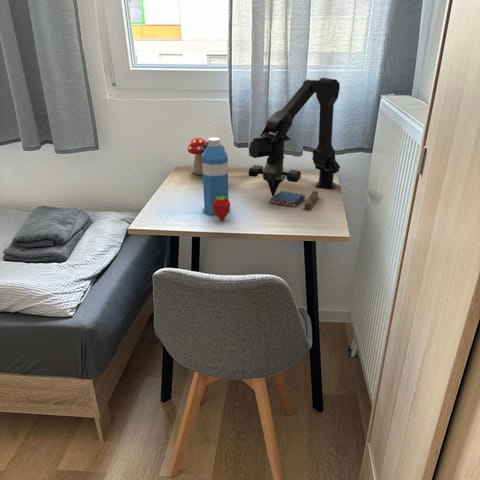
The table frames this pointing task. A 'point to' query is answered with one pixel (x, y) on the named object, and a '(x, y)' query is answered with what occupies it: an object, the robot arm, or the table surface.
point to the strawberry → (221, 207)
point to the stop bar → (311, 200)
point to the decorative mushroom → (197, 154)
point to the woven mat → (287, 198)
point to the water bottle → (214, 173)
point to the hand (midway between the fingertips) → (273, 196)
